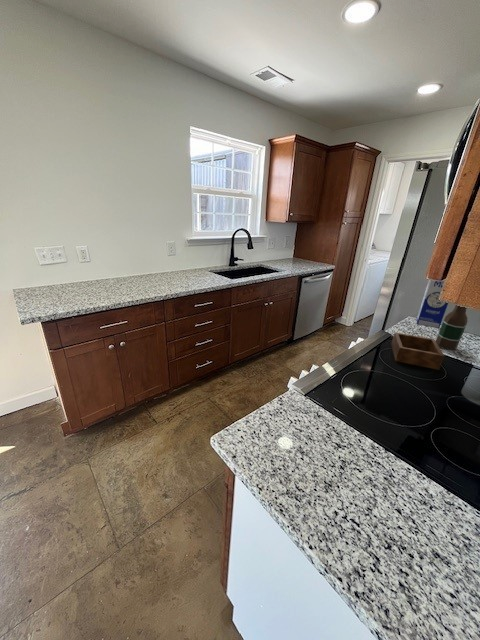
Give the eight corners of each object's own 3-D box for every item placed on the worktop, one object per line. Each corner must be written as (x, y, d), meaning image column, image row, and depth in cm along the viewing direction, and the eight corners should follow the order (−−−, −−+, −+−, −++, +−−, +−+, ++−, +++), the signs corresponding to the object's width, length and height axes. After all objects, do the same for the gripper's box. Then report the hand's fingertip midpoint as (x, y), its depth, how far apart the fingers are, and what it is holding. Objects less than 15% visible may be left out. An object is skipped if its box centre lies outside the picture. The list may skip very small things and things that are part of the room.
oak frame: (429, 351, 110) (434, 338, 108) (439, 369, 98) (444, 356, 95) (391, 344, 115) (394, 332, 112) (395, 361, 102) (399, 347, 100)
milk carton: (416, 324, 97) (433, 269, 89) (415, 318, 102) (432, 266, 94) (439, 328, 93) (459, 272, 86) (438, 322, 99) (456, 269, 91)
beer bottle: (457, 352, 110) (480, 297, 101) (435, 346, 114) (455, 293, 104) (455, 344, 116) (477, 292, 107) (434, 340, 120) (453, 289, 110)
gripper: (467, 245, 94) (426, 270, 101) (493, 253, 76) (441, 282, 83) (477, 259, 94) (436, 282, 101) (506, 270, 76) (453, 298, 83)
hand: (439, 282), depth 92 cm, fingers closed on milk carton, 7 cm apart
